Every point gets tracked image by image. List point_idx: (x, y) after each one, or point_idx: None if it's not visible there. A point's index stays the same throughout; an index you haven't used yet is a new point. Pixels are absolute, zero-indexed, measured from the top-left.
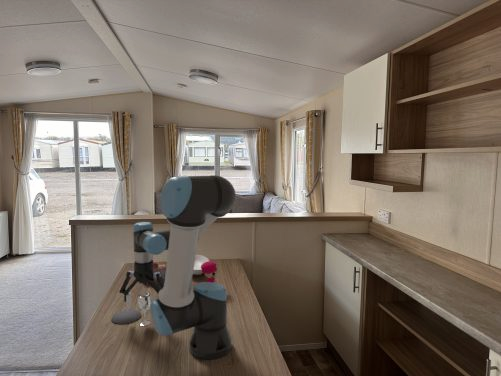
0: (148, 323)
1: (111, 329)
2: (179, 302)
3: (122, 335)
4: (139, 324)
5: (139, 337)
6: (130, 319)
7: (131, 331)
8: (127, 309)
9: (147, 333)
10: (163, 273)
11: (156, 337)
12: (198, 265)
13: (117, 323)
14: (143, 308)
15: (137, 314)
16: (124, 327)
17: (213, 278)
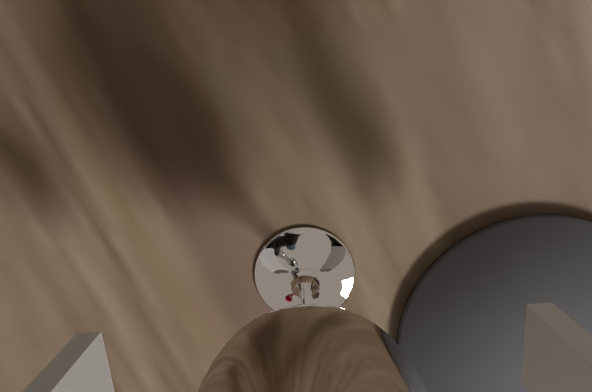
0: (263, 269)
1: (571, 103)
2: None
3: (405, 15)
4: (342, 242)
5: (215, 15)
6: (465, 292)
7: (354, 108)
8: (546, 313)
9: (180, 105)
10: None
11: (51, 52)
12: None
13: (561, 215)
14: (273, 313)
15: (443, 386)
16: (459, 165)
17: None
